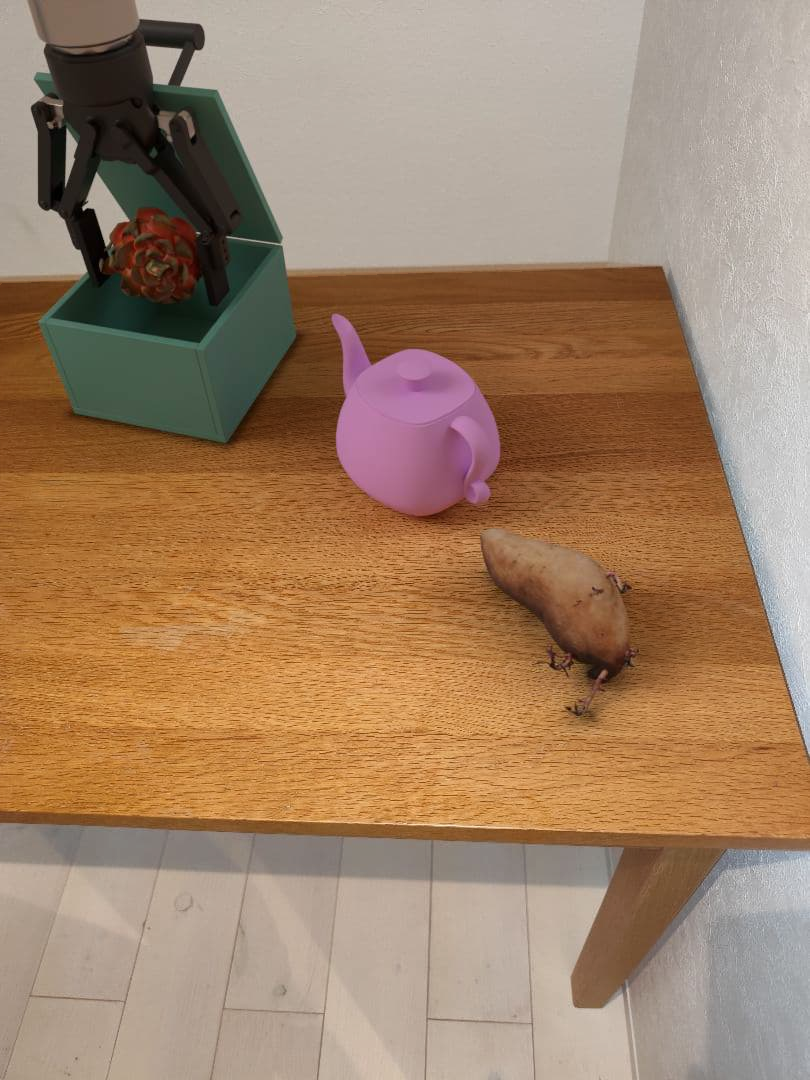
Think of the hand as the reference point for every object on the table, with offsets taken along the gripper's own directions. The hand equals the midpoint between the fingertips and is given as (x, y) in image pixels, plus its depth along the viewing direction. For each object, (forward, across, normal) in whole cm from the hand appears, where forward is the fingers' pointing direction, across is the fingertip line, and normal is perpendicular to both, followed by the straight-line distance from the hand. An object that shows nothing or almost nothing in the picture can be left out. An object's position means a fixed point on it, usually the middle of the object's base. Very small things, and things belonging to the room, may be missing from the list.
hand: (160, 288), depth 83 cm
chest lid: (-9, 0, -6) cm, 11 cm away
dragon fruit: (0, 0, 0) cm, 0 cm away
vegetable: (+11, -41, +21) cm, 47 cm away
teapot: (+11, -26, +6) cm, 29 cm away
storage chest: (+11, 0, -1) cm, 11 cm away
